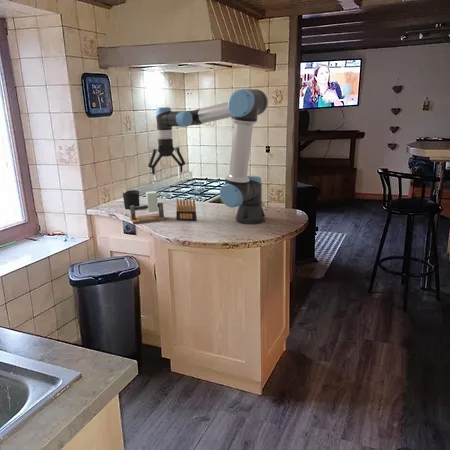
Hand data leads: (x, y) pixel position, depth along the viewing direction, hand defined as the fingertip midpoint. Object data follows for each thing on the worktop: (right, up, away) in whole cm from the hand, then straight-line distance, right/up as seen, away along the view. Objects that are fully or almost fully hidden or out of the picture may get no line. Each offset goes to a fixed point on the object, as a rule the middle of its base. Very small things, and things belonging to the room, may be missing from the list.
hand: (167, 179), depth 228 cm
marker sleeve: (-8, -17, +2) cm, 19 cm away
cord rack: (-11, -21, +2) cm, 24 cm away
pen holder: (-25, -14, +29) cm, 41 cm away
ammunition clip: (+10, -22, -2) cm, 24 cm away
